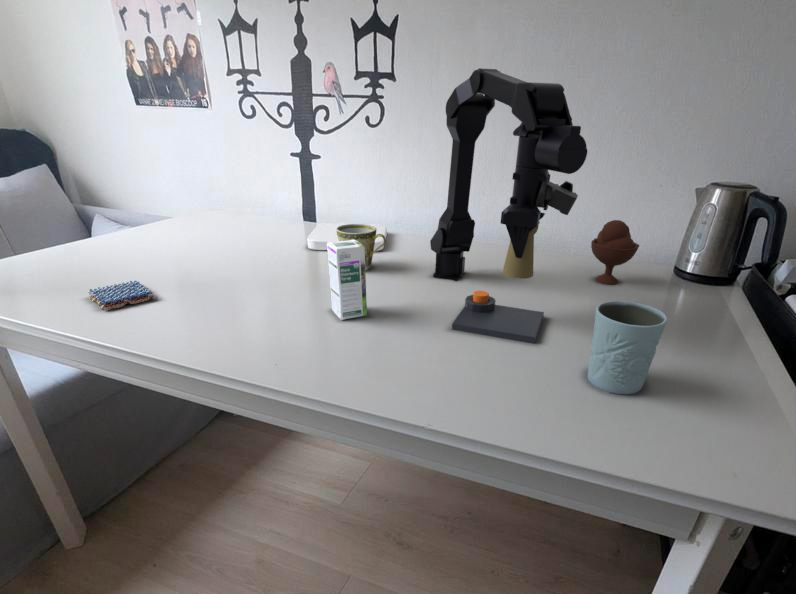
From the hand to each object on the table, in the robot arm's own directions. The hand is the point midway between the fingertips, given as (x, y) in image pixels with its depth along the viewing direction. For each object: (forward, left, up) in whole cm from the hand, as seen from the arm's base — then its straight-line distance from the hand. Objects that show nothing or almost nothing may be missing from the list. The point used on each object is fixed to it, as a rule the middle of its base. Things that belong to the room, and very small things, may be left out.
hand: (520, 254), depth 93 cm
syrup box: (-32, -11, -14) cm, 36 cm away
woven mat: (-80, -23, -14) cm, 84 cm away
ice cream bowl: (+18, +33, -14) cm, 40 cm away
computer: (-57, +39, -14) cm, 70 cm away
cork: (0, 0, -4) cm, 4 cm away
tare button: (-7, 0, -11) cm, 13 cm away
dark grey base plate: (-2, -4, -13) cm, 14 cm away
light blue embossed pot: (+20, -19, -14) cm, 31 cm away
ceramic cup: (-42, +17, -14) cm, 47 cm away
